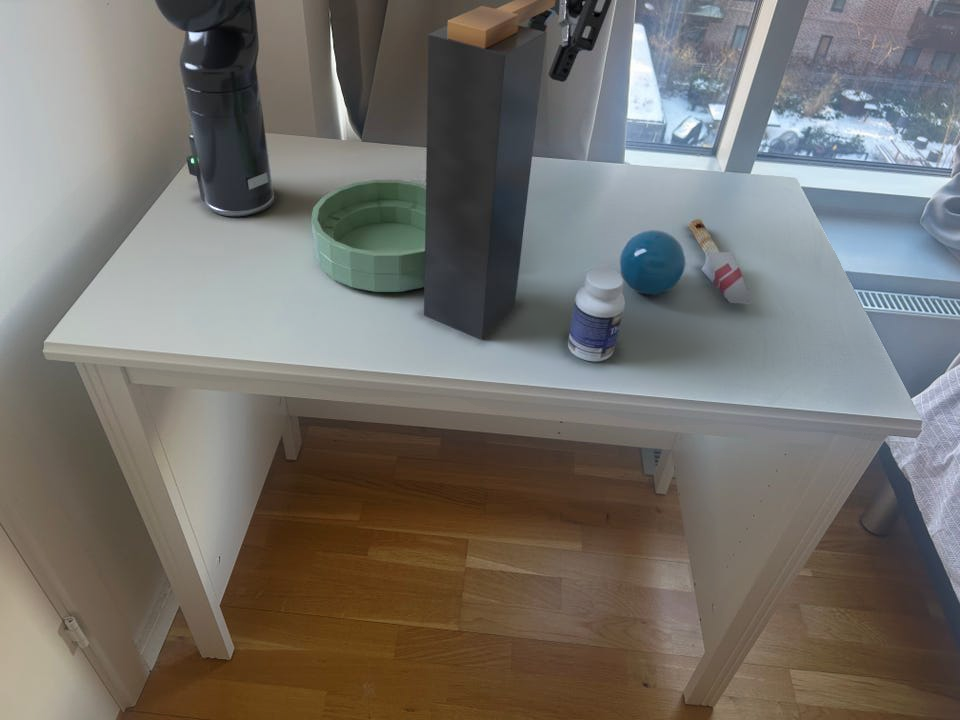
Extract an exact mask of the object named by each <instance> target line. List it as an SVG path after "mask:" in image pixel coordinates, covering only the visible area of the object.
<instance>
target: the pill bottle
mask: <svg viewBox="0 0 960 720" xmlns="http://www.w3.org/2000/svg"><path fill="white" fill-rule="evenodd" d="M623 286H624V278H623V276H622V274H620V273H619V272H617V271H616V270H614V269H611V268H608V267H607V268H606V267H595V268H591V269H590V270H589V271H587V273H586V274H585V278H584V281H583V286H581V287H580V288H579V289H578V290H577V292H576V295H575V298H574V305H573V311H572V317H571V321H570V327H569V333H568V339H567V346H568V350H569V351H570V352H571V353H572V354H573V355H574V356H575V357H577V358H579V359H581V360H584V361H587V362H602V361H606V360H607V359H609V358H610V357H611V356H612V355H613V353H614V350H615V347H616V343H617V339H618V335H619V331H620V327H621V322H622V318H623V314H624V311H625V306H626V301H625V297H624V295H623V291H622V290H623Z"/></svg>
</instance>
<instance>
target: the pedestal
mask: <svg viewBox="0 0 960 720" xmlns="http://www.w3.org/2000/svg"><path fill="white" fill-rule="evenodd" d="M447 30H448V25H446V26H444V27H441V28H439V29H437V30H435V31H433V32H431V33H428V35H427V36H428V37H427V46H428V47H427V97H426V155H425V156H426V163H425V166H426V167H425V186H426V217H425V280H424V287H423V290H424V291H423V296H424V297H423V316H425V317H426V318H429V319H432V320H434V321H436V322H439V323H441V324H444V325H446V326H448V327H450V328H453V329H454V330H458V331H460V332H462V333H465V334H466V335H469V336H471V337H474V338H476V339H478V340H481V341H482V340H483V339H484V338H485V337H486V336H487V335H489V333H490V332H491V331H492V330H493V329H494V328H495V327H497V325H498V324H499V323H500V322H501V321H502V320H503V319H504V318H505V317H506V315H508V314H509V313H510V311H512V310H513V308H514V307H516V300H517V293H518V292H517V291H518V283H519V282H518V281H519V273H520V265H521V258H522V257H521V256H522V249H523V240H524V239H523V238H524V231H525V230H524V229H525V222H526V213H527V205H528V197H529V196H528V195H529V186H530V179H531V177H530V176H531V169H532V161H533V151H534V143H535V135H536V126H537V119H538V111H539V110H538V109H539V100H540V91H541V85H542V84H541V83H542V74H543V66H544V59H545V58H544V57H545V50H546V40H547V31H545V32H543V31H539V30H535V29H531V28H527V26H522V25H520V24H518V32H517V33H515V34H513V35H511V36H509V37H507V38H506V39H504V40H502V41H500V42H498V43H496V44H494V45H492V46H490V47H488V48H486V49H484V48H480V47H476V46H472V45H469V44H465V43H461V42H457V41H454V40H450V39H447Z"/></svg>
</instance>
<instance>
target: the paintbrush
mask: <svg viewBox="0 0 960 720" xmlns="http://www.w3.org/2000/svg"><path fill="white" fill-rule="evenodd" d="M689 229H690V231H691V232H692V234H693V236H694V237H695V239H696V240H697V242H698V244H699V246H700V247H701V249H702V251H703V253H704V254H705V260H704V261H705V262H704V264H703V266H702V268H701V271H702V272H703V273H704V275H705V276H706V277H707V278H708V279H709V280H710V281H711V283H712V284H713V285H714V287H716V289H717V290H718V291H719V292H720V293H721V295H722V296H723V297H724V298H725V299H726V301H728V302H729V303H730V304H752V303H753V302H752V299H751V297H750V294H749V293H750V292H749V290H748V287H747V285H746V283H745V279H744V276H743V274H742V271H741V268H740V266H739V263H738V260H737V258H736V254H735V252H728V251H727V252H725V251H724V252H723V251H722V252H721V251H720V249H719V247H718V246H717V244H716V242H715V241H714V240H713V238H712V235H710V232H709V231H708V229H707V228H706V226H705V225H704V223H703V221H702V219H699V218H695V219H693V220H691V221H690V223H689Z"/></svg>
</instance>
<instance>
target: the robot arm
mask: <svg viewBox="0 0 960 720" xmlns="http://www.w3.org/2000/svg"><path fill="white" fill-rule="evenodd" d="M154 2H155V5H156V7H157V9H158V10H159V12H160V13H161V15H162V16H163V17H164V18H165V20H166V21H167V22H168V23H169V24H170V25H172V27H174V28H176V29H178V30H181V31H182V32H184V39H183V43H182V47H181V50H180V54H179V56H178V69H179V74H180V80H181V85H182V89H183V94H184V99H185V105H186V108H187V114H188V118H189V123H190V128H191V133H190V134H189V135H188V142H189V147H190V152H191V155H189V156H187V157H186V163H187V169H188V173H189V175H191V176H194V177H195V178H196V179H197V180H196V181H197V185H198V186H197V187H198V191H199V196H200V200H203V201H204V202H205V206H206V208H207V209H208V210H209V211H211V212H213V213H215V214H217V215H221V216H225V217H247V216H252V215H256V214H258V213H262V212H263V211H265V210H267V209H268V208H270V207H271V206H273V204H274V203H275V191H274V189H273V182H272V173H271V165H270V159H269V158H270V157H269V150H268V142H267V136H266V129H265V121H264V114H263V106H262V100H261V99H262V98H261V91H260V85H259V77H258V69H257V66H258V65H257V64H258V56H259V51H260V50H259V48H260V47H259V45H260V43H259V42H260V41H259V28H258V20H257V19H258V17H257V10H256V0H154ZM611 3H612V0H555V6H554V7H552V8H550V9H548V10H546V11H544V12H542V13H540V14H538V15H536V16H534V17H532V18H530V19H528V23H527V26H526V27H527V28H531V29H535V30H539V31H543V32H546V30H547V27H548V25H547V23H548V22H549V21H551V20H552V18H553V17H554V16H555V15H557V16H558V25H559V26H560V27H561V42H560V44H559V46H558V48H557V51H556V53H555V56H554V58H553V61H552V63H551V66H550V68H549V71H548V76H549V78H550V79H551V80H553V81H557V82H561V83H564V82H565V81H567V80H568V78H569V75H570V73H571V70H572V68H573V66H574V64H575V61H576V59H577V56H578V54H579V53H580V52H582V51H587V52H591V51H593V50H594V48H595V45H596V43H597V40H598V37H599V34H600V32H601V29H602V27H603V24H604V21H605V19H606V17H607V14H608V11H609V9H610V6H611ZM589 28H590V29H589ZM587 29H589V32H588V35H587V37H586V30H587ZM572 31H573V33H572Z"/></svg>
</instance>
